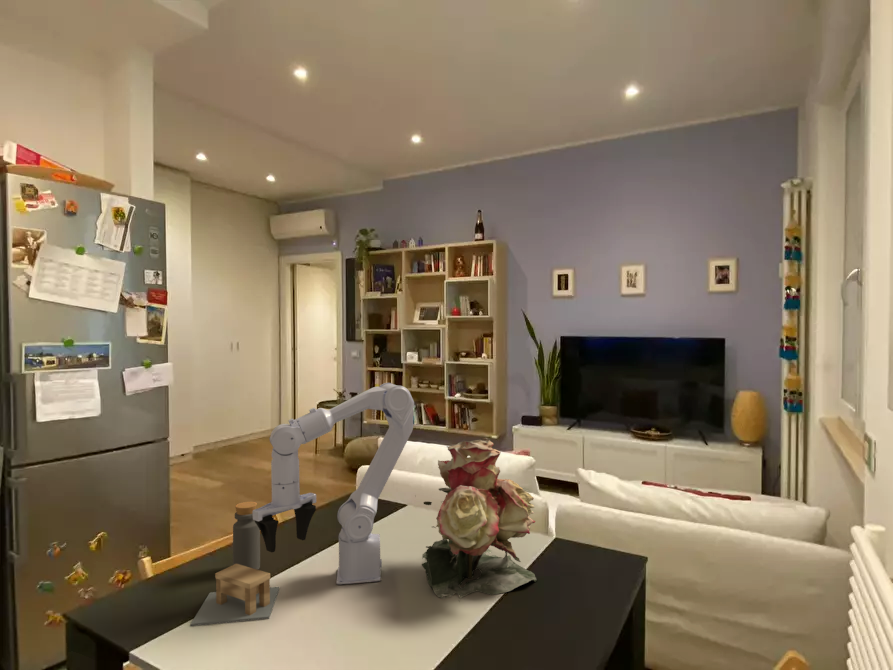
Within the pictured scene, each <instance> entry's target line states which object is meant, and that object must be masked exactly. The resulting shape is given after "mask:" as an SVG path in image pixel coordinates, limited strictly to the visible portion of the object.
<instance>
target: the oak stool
mask: <svg viewBox="0 0 893 670" xmlns="http://www.w3.org/2000/svg"><path fill="white" fill-rule="evenodd" d="M214 575H215V576H214V577H215V582H216V583H215V584H216V587H215V589H216V591H215V592H216V603H217V604H220V605H222V604H223V603H225V602H227V595H229V596H232V597H235V598H238V599H241V600H244V601H245V614H248V615H252V614H253V613H255V612H256V594H258V593H259V605H260V606H263V607H265V606H267V605H268V604H270V587H271V586H270V582H271V581H270V580H271V573H270V572H267V571H263V570H260V569H258V570H257V569H253V568H250V567H246V566H243V565H240V564H234V565H233V564H232V565H230V566H228V567H226V568H224V569H221V570H220V571H218V572H216V573H214Z"/></svg>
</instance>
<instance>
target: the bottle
mask: <svg viewBox="0 0 893 670" xmlns="http://www.w3.org/2000/svg"><path fill="white" fill-rule="evenodd" d="M257 506H258V503H257V502H255V501H244V502H239V503H237V504H236V505H235V511H236V512H234V519H235V520H237V521H235V522H234V523H233V525H232V565H234V564H240V565H243V566H246V567H250V568H253V569H257V570H260V568H261V531H260V529H259V527H258V526H257V524H256V523H255V520H253V510H255V509H257Z"/></svg>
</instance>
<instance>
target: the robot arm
mask: <svg viewBox="0 0 893 670" xmlns="http://www.w3.org/2000/svg"><path fill="white" fill-rule="evenodd" d="M414 406H415V401H414V398H413V397H412V394H411V391H410V390H409V389H408V388H407V387H405V386H403V385H396V384H394V383H392V382H384V383H382V384H380V385H379V386H374V387H371V388H369V389H367V390H364V391H363V392H361V393H359V394H357V395H354V396H353V397H351V398H349V399H347V400H345V401H343V402H342V403H340V404H338V405H336V406H334V407H331V408H330V409H325V408H323V407H319V408H317V409H316V408H315V407H312V408H310V409H308V411H309V413H308V412H307V413H306V414H304V415H302V416H299V417H297V418H295V419H294V418H290V419H288V423H280V424H278V425H276V426H275V427H274V428H273V429H272V431H271V433H270V437H269V443H270V444H271V446H272V448H271V449H272V451H271V462H270V463H271V464H270V466H271V469H270V470H271V471H270V472H271V473H270V474H271V501H270V502H269V503H266V504H265V505H262V506H261V507H258V508H256V509H255V510H253V520H255V523H256V524H257V526H258V527H259V529H260V534H261V536H262V539H263V542H264V544H265V545H264V546H265V548H266V551H268V552H270V553H274V552H276V548H277V547H276V545H277V543H276V536H277V529H278V525H279V523H280V522H279V520H278V519H277V520H276V519H275V518H274V517H273V516H276V515H279V514H282V513H284V512H287V511H291V510H293V512H294V517H295V522H296V523H295V525H296V538H297V539H298V540H301V541H306V538H307V534H308V530H309V526H310V524H311V520H312V519H313V516H314V514H315V513H316V511H317V506H316V505H315V504H316V503H317V494H316V493H313V492H308V493H304V494H300V490H301V489H300V487H301V486H300V485H301V483H300V458H299V448H300V447H301V445H305V444H308V443H310V442H311V441H314V440H316V439H317V438H320V437H322V436H325V435H326V434H328V433H330V432H332V429H333V427H334V426H335V424H336V423H338V422H341V421H342V420H345V419H349V418H350V417H352V416H355V415H358V414H359V413H362V412H365V411H367V410H375V411H382V413H384V416H385V418H386V421H387V424H388V429H387V430H386V433H385V435H384V436H383V438H382V441H381V443H380V445H379V447H378V448H377V450H376V453H375V454H374V457H373V458H372V460H371V462H370V464H369V466H368V468H367V469H366V471H365V474H364V476H363V477H362V480H361V482H360V483H359V485H358V488H357V489H355V490H354V491H353V492H352V493H351V494H350V496H349V498H348V499H347V500H346V501H345V502H344V503H343V504H342V505H340V506H339V508H338V511H337V513H336V514H337V517H336V518H337V521H338V522H339V523H338V524H340V525H341V529H340V532H339V533H338V568H337V573H336V582H335V583H336V585H349V584H361V583H371V582H380V581H381V579H382V578H381V569H382V568H383V567H382V565H383V564H382V563H383V561H382V558H381V535H380V534H379V533H372V531H373V530H374V529H373V528H374V519H375V516H376V514H377V512H378V511H377V510H378V500H379V498H380V496H381V495H382V492H383V490H384V488H385V486H386V484H387V482H388V480H389V477H390V476H391V474H392V472H393V470H394V468H395V466H396V464H397V462H398V460H399V459H400V456H401V454H402V452H403V450H404V448H405V447H406V444H407V442H408V440H409V438H410V436H411V434H412V433H413V429H414Z"/></svg>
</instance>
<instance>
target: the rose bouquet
mask: <svg viewBox="0 0 893 670" xmlns="http://www.w3.org/2000/svg"><path fill="white" fill-rule="evenodd" d="M493 446H494V442H492V441H491V439H489V438H488V437H482V438H481V439H475V440H471V441H468V440H467V441H466V440H465V439H463V440H462V441H460V442H458V443H457V444H453V445H449V446H448V445H447V446H446V448H447V450H448V452H449V453H450V455H451V459H450V460H448V459H447V460H439V459H438V460H437V465H438V469H439V474H440V476H441V478H442V479H443V481H444V484H445V486H446V487H439V488H438V491H440V492H441V491H442V492H444V493H445V494H446V495H445V497H444V500H442V501H441V506H440V508H439V509H438V511H437V512H438V513H437V516H436V520H437V521H436V523H437V524H436V526H432V528H433V529H438V533H439V534H440V535H441V537H442V539H441V540H436V541H434V542H433V544H432V545H427V546H425V548H426V551H425V552H423V553H422V560H423V559H426V561H424V562H422V563H421V566H422V567H423V569H424V570H425V573H426V580H427V583H428V585H429V586H430V587H431V588H432V590H433V592H434V594H435V595H436V597H438V598H440V599H443V598H450V597H454V596H455V595H454V594H457V595H458V596H459V597H458V599H461V598H463V597H465V596H467V595H469V594H472V593H474V592H480V593H484V594H488V595H491V596H492V595H500V594H503V593H504V594H505V593H507V592H511V591H513V590H514V589H516V588H518V587H520V586H522V585H525V584H527V583H529V582H531V581H532V582H537V577H536V575H535V573H534V572H532V571H531V570H528V569H526V568H524V567H523V566H521V565H520V564H517V563H522V561H521V560H520V558H519V557H518V556H517V554H516V552H515V550H514V549H513V546H512V541H511V542H510V541H509V539H511V538H512V539H515V538H517V539H519V538H524V537H525V536H526V535H527V534H528V535H530V534H531V532H530V530H531V526H530V525H532V524H535V523H536V520H533V519H532V518H531V517H530V516H531V515H533V514H534V513H535V512H534V511H533V510H532V509H535V505H534V504H532V503H531V501H534V498H535V497H534V496H532V494H531V493H529V492H528V491H526V490H524V488H523V487H521V486H520V484H518V483H517V482H515V481H514V480H512V479H507V478H505V479H501V478H499V475H500V473H501V469H500V467H499V466H496V462H497V461H498V459H499V457H500V455H501V451H499V450H498V449H495V448H493ZM414 496H415V498H416V496H417V495H416V494H415V495H414ZM432 503H433V502H432V501H423V505H426V506H431V505H432ZM490 547H494V548H496V549H498V550H500V551H502V552H503V551H504V553H505V554H504V556H503V557H502V556H497V555H495V554H492V555H489V554H491V553H492V552H493V550H492V549H490ZM487 553H489V554H487ZM511 557H512V558H513V559H514V560H515V561H516V562H517V563H516V562H515V561H514V560H512V559H511ZM477 570H479V571H480V575H479V576H478V578H475V579H473V580H472V578H474V577H475V573H473V572H475V571H477ZM466 579H471V580H469V581H466V582H465V584H464V586H463V587H461V586H460V585H462V583H464V581H465V580H466ZM458 602H459V603H460V600H458Z"/></svg>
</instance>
